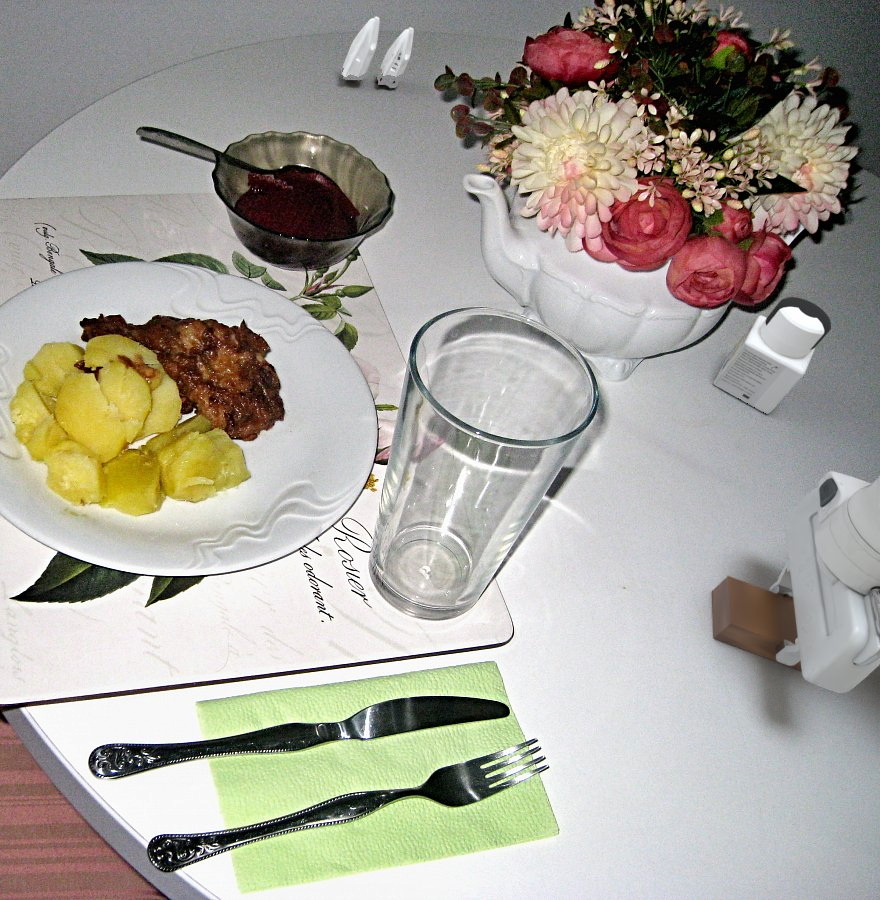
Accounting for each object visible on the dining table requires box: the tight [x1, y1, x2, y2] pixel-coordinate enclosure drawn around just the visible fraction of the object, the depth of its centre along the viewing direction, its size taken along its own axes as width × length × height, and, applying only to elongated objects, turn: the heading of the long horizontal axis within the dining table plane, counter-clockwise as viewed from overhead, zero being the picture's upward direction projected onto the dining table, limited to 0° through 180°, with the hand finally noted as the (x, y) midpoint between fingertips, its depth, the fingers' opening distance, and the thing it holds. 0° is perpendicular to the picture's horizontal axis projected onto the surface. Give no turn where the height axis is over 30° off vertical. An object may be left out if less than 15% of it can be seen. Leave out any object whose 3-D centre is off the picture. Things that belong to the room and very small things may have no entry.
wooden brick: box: [711, 575, 802, 672], centre depth 90 cm, size 12×6×3 cm, turn 73°
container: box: [713, 296, 832, 415], centre depth 113 cm, size 8×8×13 cm
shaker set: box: [340, 16, 415, 77], centre depth 148 cm, size 12×4×11 cm, turn 106°
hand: (779, 626), depth 90 cm, fingers closed on wooden brick, 6 cm apart
